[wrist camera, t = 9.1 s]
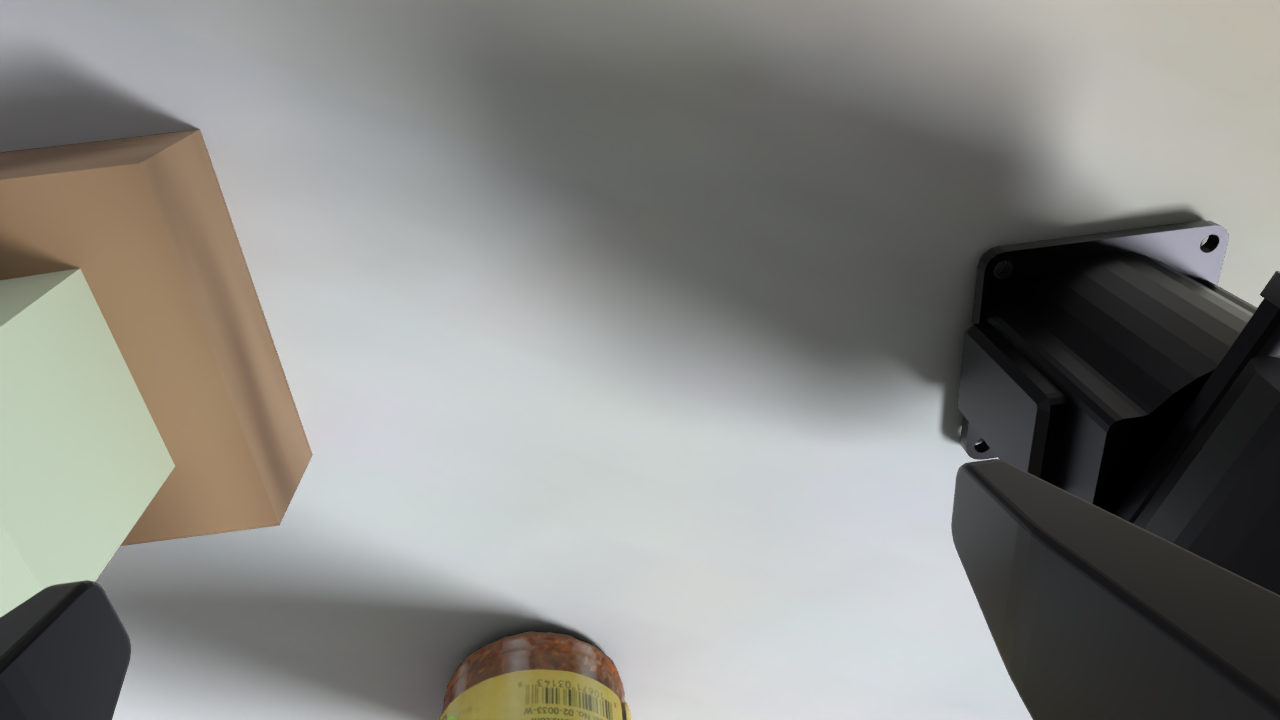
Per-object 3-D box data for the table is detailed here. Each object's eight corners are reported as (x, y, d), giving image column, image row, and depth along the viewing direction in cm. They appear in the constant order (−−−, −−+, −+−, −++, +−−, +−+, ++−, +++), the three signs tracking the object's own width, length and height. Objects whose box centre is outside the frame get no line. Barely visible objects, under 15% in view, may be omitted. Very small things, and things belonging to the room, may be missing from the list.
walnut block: (207, 124, 19) (139, 163, 16) (316, 446, 23) (279, 525, 20) (-188, 171, 19) (-334, 218, 16) (-6, 487, 23) (-93, 573, 20)
